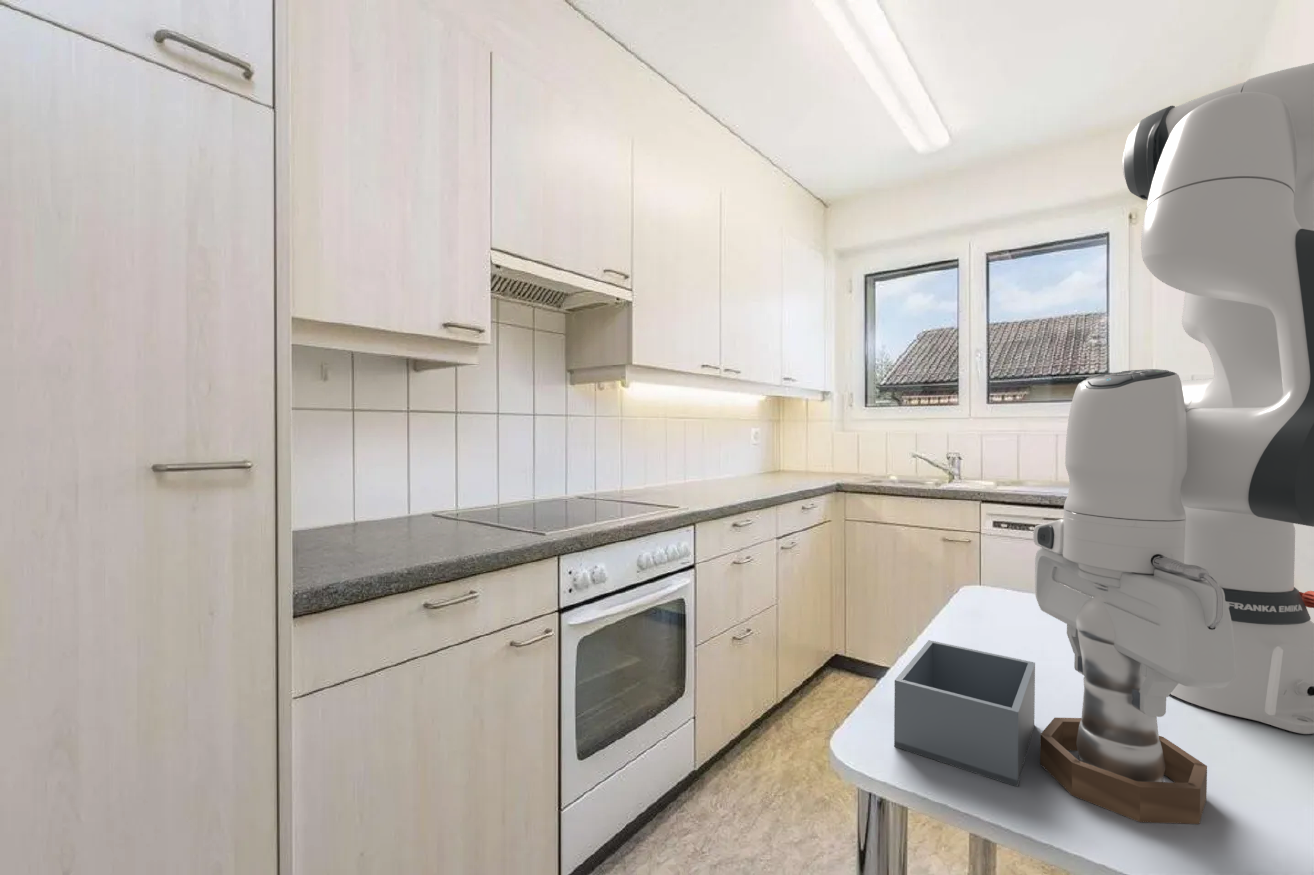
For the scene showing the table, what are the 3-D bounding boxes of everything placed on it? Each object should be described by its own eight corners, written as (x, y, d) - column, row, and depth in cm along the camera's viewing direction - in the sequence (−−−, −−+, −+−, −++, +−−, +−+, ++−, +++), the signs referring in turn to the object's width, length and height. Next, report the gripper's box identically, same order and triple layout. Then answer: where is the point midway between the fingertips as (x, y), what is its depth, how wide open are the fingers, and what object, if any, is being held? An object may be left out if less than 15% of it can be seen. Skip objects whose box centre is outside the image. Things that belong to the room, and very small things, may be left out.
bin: (928, 696, 72) (928, 640, 72) (1034, 724, 65) (1035, 662, 65) (894, 746, 61) (894, 680, 61) (1017, 786, 54) (1018, 712, 54)
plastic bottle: (1112, 805, 52) (1112, 579, 51) (1059, 760, 58) (1059, 561, 58) (1185, 803, 52) (1186, 578, 51) (1124, 759, 58) (1124, 560, 58)
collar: (1136, 747, 61) (1137, 719, 60) (1242, 825, 49) (1243, 789, 49) (1020, 745, 61) (1020, 716, 61) (1097, 820, 50) (1098, 785, 49)
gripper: (1266, 574, 44) (1259, 756, 44) (1083, 526, 64) (1079, 651, 64) (1178, 571, 44) (1172, 753, 44) (1023, 525, 65) (1020, 649, 65)
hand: (1116, 692), depth 55 cm, fingers open, 6 cm apart
